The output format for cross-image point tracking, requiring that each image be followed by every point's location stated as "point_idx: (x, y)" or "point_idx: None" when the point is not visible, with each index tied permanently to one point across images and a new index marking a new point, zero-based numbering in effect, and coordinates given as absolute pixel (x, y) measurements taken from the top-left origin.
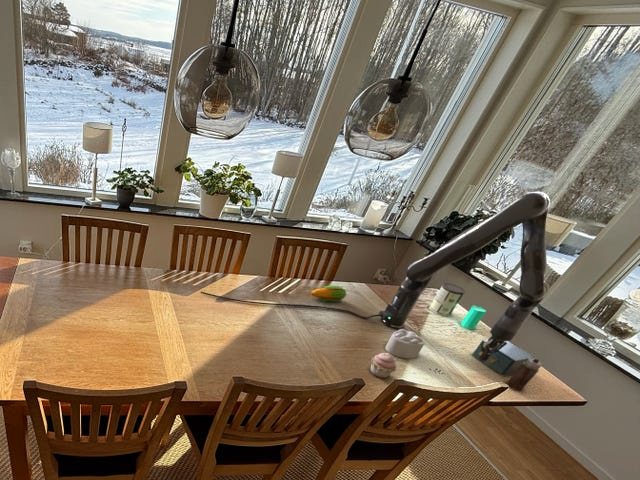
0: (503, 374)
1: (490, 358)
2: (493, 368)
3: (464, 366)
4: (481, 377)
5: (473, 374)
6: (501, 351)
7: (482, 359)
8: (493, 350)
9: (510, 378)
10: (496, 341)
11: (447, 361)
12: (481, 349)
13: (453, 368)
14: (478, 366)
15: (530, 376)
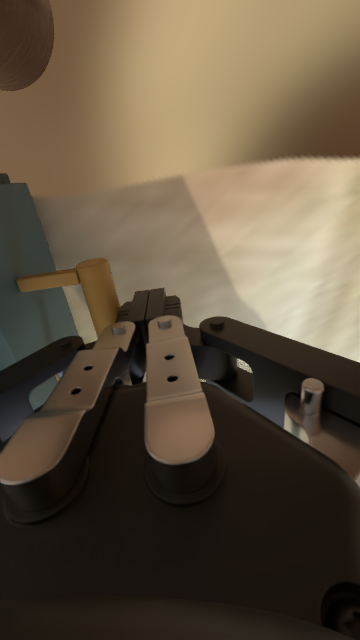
0: (2, 178)
1: (103, 299)
2: (47, 249)
3: (242, 291)
4: (223, 170)
5: (257, 208)
6: None
7: (179, 298)
8: (168, 340)
9: (13, 63)
10: (253, 502)
11: (314, 336)
12: (248, 377)
13: (346, 275)
14: (131, 288)
15: None
